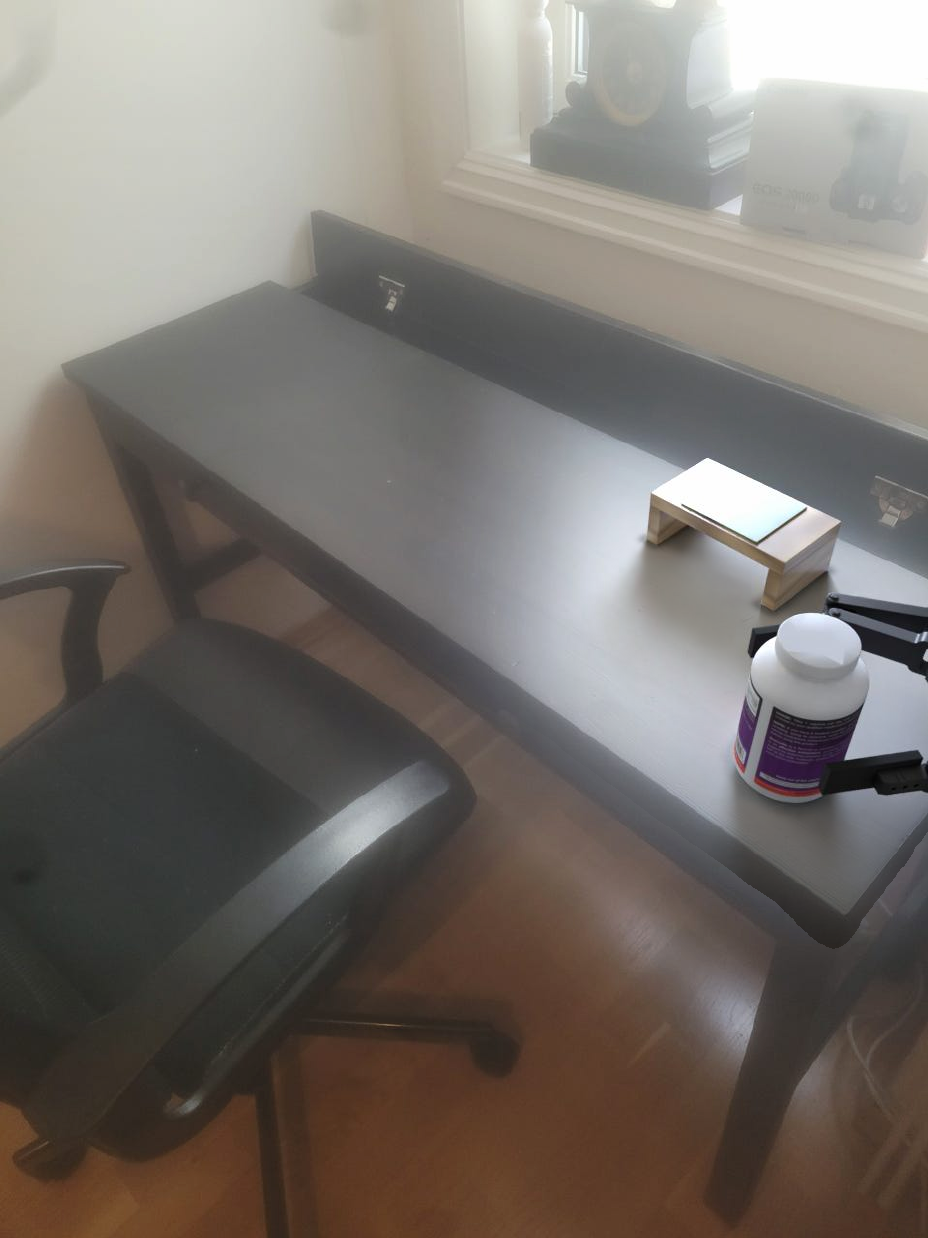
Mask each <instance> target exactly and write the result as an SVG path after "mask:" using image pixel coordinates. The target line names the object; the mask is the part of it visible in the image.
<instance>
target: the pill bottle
mask: <svg viewBox="0 0 928 1238" xmlns="http://www.w3.org/2000/svg"><path fill="white" fill-rule="evenodd" d="M780 624H781V626H780V627H779V630H778V633H777V636H776V637H774V638H772V639H770V640H769V641H767V642H766V643H765V644H764V645H763V646H762V647H761V648H760V649H759V650H758V651H757V653H756V655H755V656H754V658H752V662H751V666H750V671H749V677H748V680H747V684H746V690H745V695H744V698H743V704H742V708H741V713H740V716H739V717H740V718H739V722H738V726H737V731H736V734H735V735H736V736H735V741H734V744H733V752H732V753H733V754H732V755H733V761H734V765H735V768H736V770H737V772H738V773H739V775H740V776H741V777H740V778H742V779H743V780H744V782H745V783H746V784H747V785H748V786H749V787H751V788H752V789H753V790H754V791H756V792H757V793H759V794H760V795H763V796H765V797H767V798H769V799H772V800H774V801H778V802H783V803H788V804H789V803H790V804H802V803H807V802H812V801H815V800H817V799H819V798H821V797H823V796H824V795H822V794H821V792H820V790H819V788H818V784H819V781H820V778H821V776H822V773H823V770H824V767H825V764H826V763H829V762H836V761H843V760H846V756H847V754H848V750H849V748H850V744H851V742H852V740H853V736H854V733H855V730H856V727H857V725H858V723H859V719H860V716H861V714H862V711H863V709H864V708H863V707H864V705H865V703H866V700H867V697H868V695H869V694H868V693H869V692H870V691H869V690H870V676H869V672H868V669H867V667H866V665H865V663H864V661H863V660H862V658H861V657H860V656H861V653H862V650H861V641H860V638H859V636H858V635H857V633H856V632H855V631H854V630H853V629H852V628H851V627H850V626H849V625H848V624H846V623H845V622H843V621H841V620H839V619H837V618H834V617H831V616H828V615H824V614H822V613H818V612H817V613H816V612H807V613H805V612H804V613H798V614H795V615H792V616H790V617H789V618H787V619H785V620H784V621H783V622H782V623H780Z"/></svg>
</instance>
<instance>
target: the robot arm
mask: <svg viewBox="0 0 928 1238" xmlns="http://www.w3.org/2000/svg"><path fill="white" fill-rule="evenodd" d="M821 614H824V615H828V616H831V617H834V618H837V619H839V620H841V621H843V622H845V623H846V624H848V625H849V626H850V627H851V628H852V629H853V630H854V631H855V632H856V633H857V635H858V636H859V638H860V641H861V651H862V652H866V653H868V654H872V655H875V656H878V657H881V658H884V659H887V660H890V661H893V662H896V663H899V664H901V665H905V666H906V667H907V668H908V671H910V672H912V673H913V674H916V675H920V676H923V677H924V680H925V681H926V683H927V684H928V661H927V660H925V659H924V656H925V654H926V652H927V651H928V606H920V605H913V604H908V603H901V602H896V601H888V600H883V599H877V598H870V597H864V596H857V595H852V594H846V593H838V592H829V593H828V594H827V595H826V597H825V601H824V603H823V608H822V612H821ZM781 624H782V623H780V624H772V625H766V626H759V627H752V628H751V632H750V638H749V642H748V647H747V651H746V652H747V655H748V656H749V658H750V659H754V656H755V655H756V653H757V651H758V650H759V649H760V648H761V647H762V646H763V645H764V644H765V643H766V642H767V641H769V640H770V639H772V638H774V637H776V636H777V633H778V630H779V627H780V626H781ZM923 760H924V756H923V755H922V753H921V752H920V750H919V749H912V750H906V751H899V752H893V753H886V754H879V755H871V756H865V757H858V758H851V759H844V760H843V761H836V762H829V763H826V764H825V767H824V770H823V773H822V776H821V778H820V781H819V784H818V788H819V790H820V792H821V794H822V795H823V796H829V795H834V794H835V795H836V794H842V793H848V792H855V791H861V790H862V791H863V790H869V789H874V790H875V792H876V794H877V795H878V796H879V795H880V796H885V797H887V796H894V795H900V794H902V795H903V794H909V793H915V792H923V793H924V794H925V793H926V794H928V760H926V762H925V763H924V762H923Z"/></svg>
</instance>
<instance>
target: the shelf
mask: <svg viewBox="0 0 928 1238" xmlns="http://www.w3.org/2000/svg"><path fill="white" fill-rule="evenodd" d="M841 525H842V520H840V519H838V518H835V517H833V516H831V515H829V514H827V513H825V512H822V511H821V510H819V509H816V508H814V507H812V506H810V505H808V504H806V503H803V502H801V501H800V500H797V499H796V498H793V497H790V496H789V495H786V494H785V493H782V492H781V491H778V490H776V489H773V488H772V487H770V486H767V485H765V484H763V483H762V482H759V481H757V480H754V479H753V478H750V477H748V476H746V475H744V474H742V473H740V472H739V471H736V470H734V469H732V468H729V467H727V466H725V465H723V464H721V463H719V462H717V461H714V460H713V459H711V458H708V457H707V458H705V459H703V460H702V461H700V462H698V463H697V464H695V465H694V466H692V467H690V468H689V469H687V470H686V471H685V470H684V471H683V472H682V473H680V474H678V475H677V476H675V477H674V478H672V479H671V480H670V481H667V482H665V483H664V484H662V485H661V486H659V487H658V488H656V489H654V490H653V491H651V492H650V498H649V509H648V520H647V530H646V540H648V541H649V542H651V543H653V544H655V545H659V544H660V543H662V542H664V541H665V540H667V539H668V538H670V537H671V536H673V535H674V534H677V532H679V531H680V530H682V529H684V528H685V527H687V526H689V527H691V528H693V529H695V530H696V531H698V532H700V533H703V534H704V535H706V536H708V537H710V538H711V539H713V540H715V541H717V542H719V543H721V544H723V545H725V546H727V547H728V548H730V549H732V550H734V551H735V552H738V553H739V554H741V555H743V556H745V557H747V558H749V559H750V560H753V561H754V562H756V563H758V564H760V565H762V566H764V567H765V568H768V571H767V575H766V579H765V584H764V589H763V593H762V597H761V601H760V605H761V606H763V607H766V608H767V609H769V610H770V611H772V612H775V611H776V610H778V609H779V608H780V607H781V606H782V605H784V604H785V603H787V602H788V601H790V599H792V598H793V597H795V596H796V595H797V594H798V593H799V592H801V591H802V590H803V589H805V588H806V587H807V586H808V585H810V584H812V582H814V581H815V580H816V579H818V578H819V577H820V576H822V575H823V574H824V573H826V572H827V571H828V570H829V568H830V564H831V561H832V556H833V555H834V554H833V553H834V550H835V546H836V543H837V539H838V536H839V533H840V529H841Z"/></svg>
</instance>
